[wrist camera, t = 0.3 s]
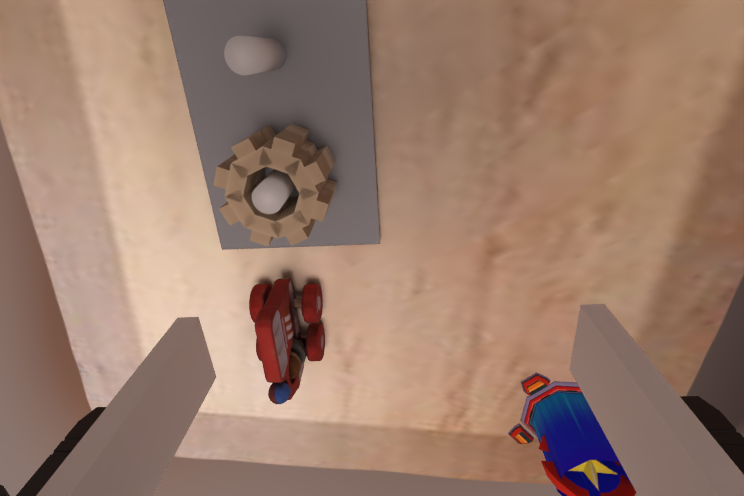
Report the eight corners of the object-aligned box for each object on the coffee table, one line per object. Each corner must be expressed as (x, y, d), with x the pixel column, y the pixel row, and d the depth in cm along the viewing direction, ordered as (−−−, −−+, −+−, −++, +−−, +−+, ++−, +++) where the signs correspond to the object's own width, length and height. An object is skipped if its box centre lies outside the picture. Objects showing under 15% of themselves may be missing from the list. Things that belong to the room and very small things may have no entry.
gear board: (156, -60, 33) (82, -94, 25) (361, -78, 31) (351, -119, 24) (226, 244, 44) (190, 287, 36) (380, 238, 43) (377, 281, 35)
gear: (220, 150, 38) (191, 168, 33) (306, 105, 36) (290, 115, 30) (272, 234, 41) (254, 262, 36) (354, 196, 39) (347, 220, 34)
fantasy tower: (505, 441, 54) (532, 540, 43) (522, 370, 49) (558, 462, 38) (597, 447, 54) (649, 548, 43) (625, 376, 49) (691, 470, 38)
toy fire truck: (270, 357, 50) (241, 429, 41) (255, 265, 45) (218, 322, 35) (328, 358, 50) (313, 430, 40) (320, 265, 44) (300, 323, 35)
